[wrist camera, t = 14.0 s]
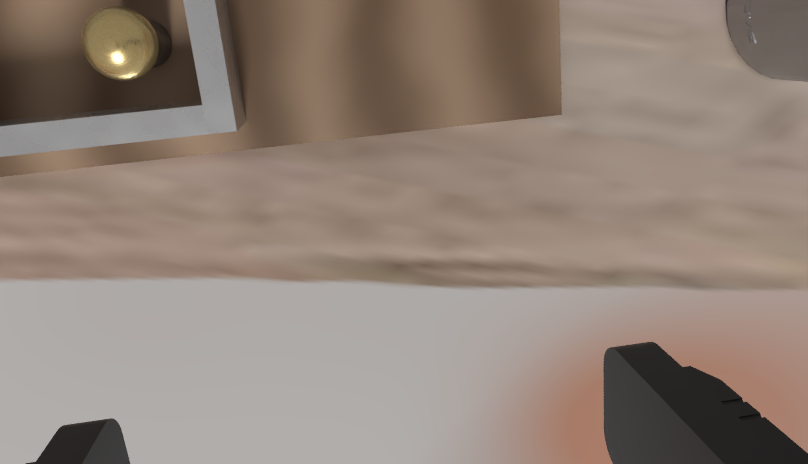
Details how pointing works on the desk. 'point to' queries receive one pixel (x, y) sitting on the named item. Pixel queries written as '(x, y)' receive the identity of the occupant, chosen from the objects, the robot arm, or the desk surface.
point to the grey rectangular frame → (150, 122)
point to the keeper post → (124, 43)
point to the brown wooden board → (292, 71)
